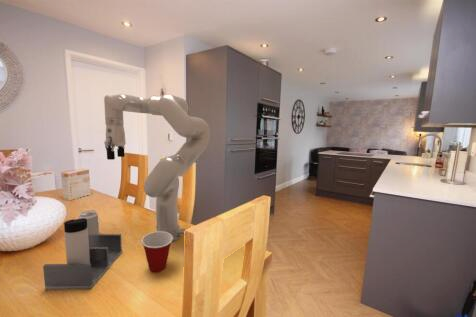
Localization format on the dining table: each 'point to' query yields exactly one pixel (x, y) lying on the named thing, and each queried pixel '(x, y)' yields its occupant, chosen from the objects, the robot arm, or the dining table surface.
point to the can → (91, 221)
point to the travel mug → (77, 241)
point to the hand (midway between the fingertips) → (116, 158)
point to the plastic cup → (157, 250)
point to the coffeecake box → (75, 184)
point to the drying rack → (85, 275)
